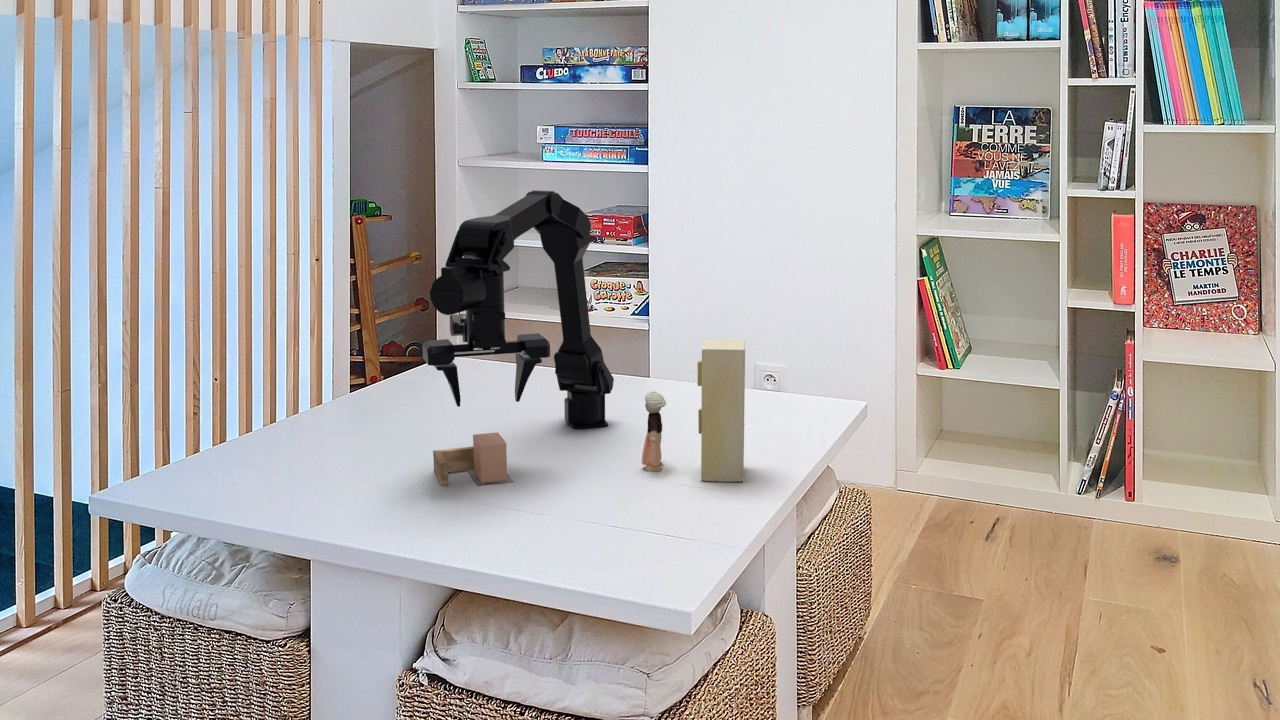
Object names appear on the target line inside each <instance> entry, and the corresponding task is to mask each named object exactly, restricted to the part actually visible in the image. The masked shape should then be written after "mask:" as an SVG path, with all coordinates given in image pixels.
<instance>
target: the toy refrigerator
mask: <svg viewBox="0 0 1280 720" xmlns="http://www.w3.org/2000/svg"><path fill="white" fill-rule="evenodd" d="M745 376H746V340H745V339H738V338H737V339H733V338H732V339H727V338H725V339H723V338H720V339H719V338H718V339H717V338H714V339H713V338H705V339H703V341H702V347H701V360H698V361H697V386H698V387H701V408H698V410H697V411H698V412H697V413H698V434H701V436H700V437H701V439H700V441H701V442H700V443H701V444H700V445H701V448H700V449H701V453H700V454H701V458H700V459H701V461H700V463H701V466H700V469H701V470H700V479H701V481H702V482H727V483H729V482H730V483H734V482H735V483H742V482H744V471H745V470H744V465H745V463H744V461H745V460H744V459H745V397H746V395H745V392H746V389H745V388H746V387H745V386H746V381H745V380H746V377H745Z"/></svg>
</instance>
